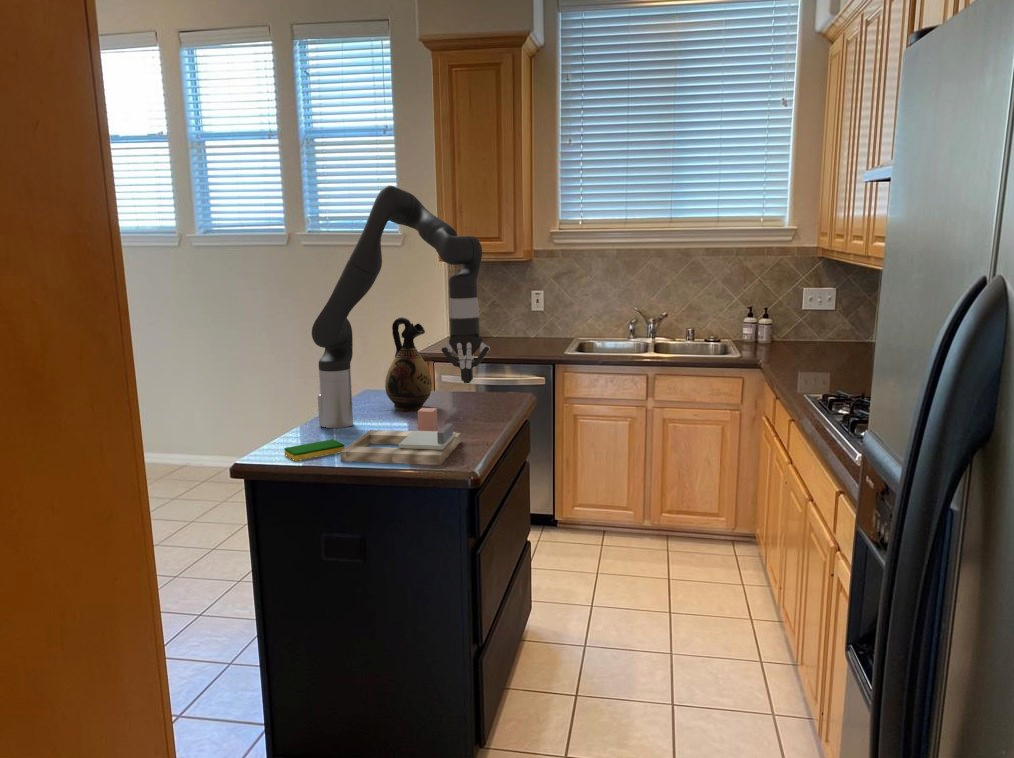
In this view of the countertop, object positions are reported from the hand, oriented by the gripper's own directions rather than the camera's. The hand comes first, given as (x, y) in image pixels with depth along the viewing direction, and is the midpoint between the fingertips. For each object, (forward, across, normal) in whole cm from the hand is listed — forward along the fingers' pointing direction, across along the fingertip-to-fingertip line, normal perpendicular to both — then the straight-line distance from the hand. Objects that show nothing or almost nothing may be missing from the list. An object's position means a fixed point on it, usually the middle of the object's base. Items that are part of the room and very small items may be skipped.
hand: (467, 382), depth 193 cm
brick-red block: (+18, -16, +17) cm, 29 cm away
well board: (+18, -18, -2) cm, 26 cm away
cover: (+15, -11, -2) cm, 19 cm away
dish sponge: (+18, -40, -6) cm, 45 cm away
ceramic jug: (+17, -31, +50) cm, 61 cm away
